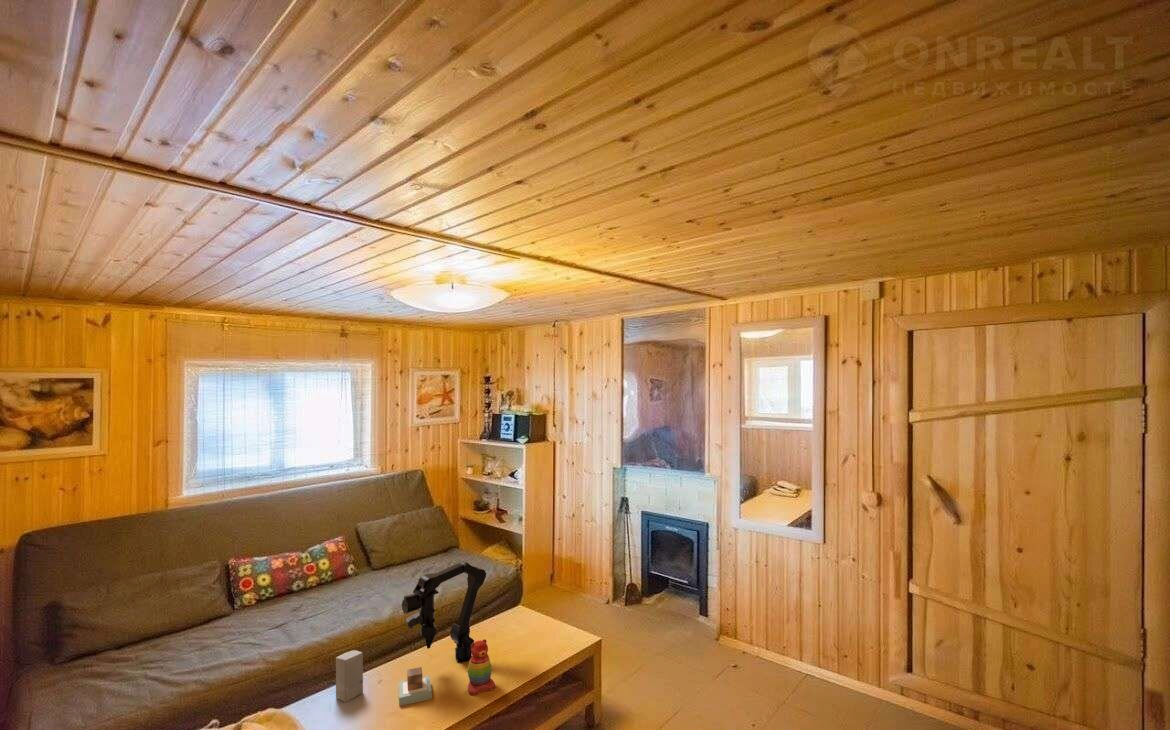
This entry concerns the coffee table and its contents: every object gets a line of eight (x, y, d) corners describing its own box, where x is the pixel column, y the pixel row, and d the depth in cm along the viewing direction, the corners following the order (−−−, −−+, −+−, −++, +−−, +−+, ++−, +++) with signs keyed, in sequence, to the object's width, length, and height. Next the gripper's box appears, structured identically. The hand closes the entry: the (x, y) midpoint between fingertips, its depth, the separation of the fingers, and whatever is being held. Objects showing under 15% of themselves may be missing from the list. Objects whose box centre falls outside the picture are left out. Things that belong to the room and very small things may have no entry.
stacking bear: (470, 696, 206) (469, 650, 207) (463, 684, 215) (463, 639, 216) (497, 688, 211) (496, 643, 212) (489, 677, 220) (488, 633, 221)
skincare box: (345, 703, 204) (345, 661, 205) (334, 698, 208) (334, 657, 208) (364, 692, 211) (364, 652, 212) (353, 687, 215) (353, 647, 216)
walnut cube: (421, 680, 213) (421, 666, 213) (422, 687, 207) (422, 673, 208) (407, 683, 211) (407, 669, 211) (407, 691, 206) (407, 676, 206)
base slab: (429, 683, 217) (429, 675, 217) (431, 698, 205) (431, 690, 205) (398, 689, 212) (398, 681, 212) (399, 705, 201) (399, 697, 201)
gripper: (406, 601, 231) (407, 637, 231) (408, 618, 214) (408, 657, 213) (432, 597, 235) (433, 633, 234) (436, 613, 218) (437, 652, 217)
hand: (427, 643), depth 225 cm, fingers open, 9 cm apart
